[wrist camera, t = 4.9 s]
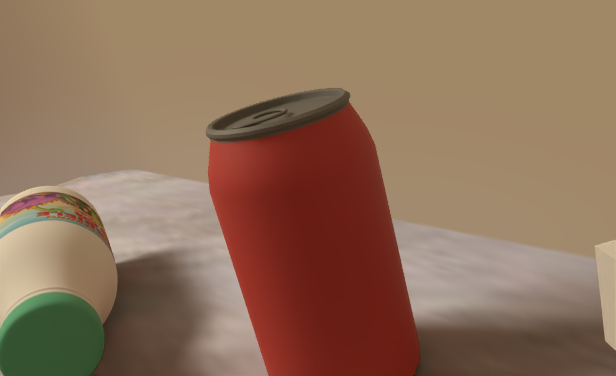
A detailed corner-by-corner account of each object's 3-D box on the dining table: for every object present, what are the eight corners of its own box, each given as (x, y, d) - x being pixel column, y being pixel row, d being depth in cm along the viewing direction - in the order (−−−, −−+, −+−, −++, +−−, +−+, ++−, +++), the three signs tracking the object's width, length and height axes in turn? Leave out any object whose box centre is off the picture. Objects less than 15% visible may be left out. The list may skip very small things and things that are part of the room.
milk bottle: (80, 293, 46) (103, 440, 28) (-26, 265, 42) (-76, 415, 25) (117, 203, 46) (165, 295, 28) (14, 169, 42) (-7, 248, 24)
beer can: (248, 383, 26) (164, 133, 23) (356, 314, 30) (298, 85, 26) (335, 454, 21) (243, 141, 17) (455, 361, 24) (399, 80, 21)
